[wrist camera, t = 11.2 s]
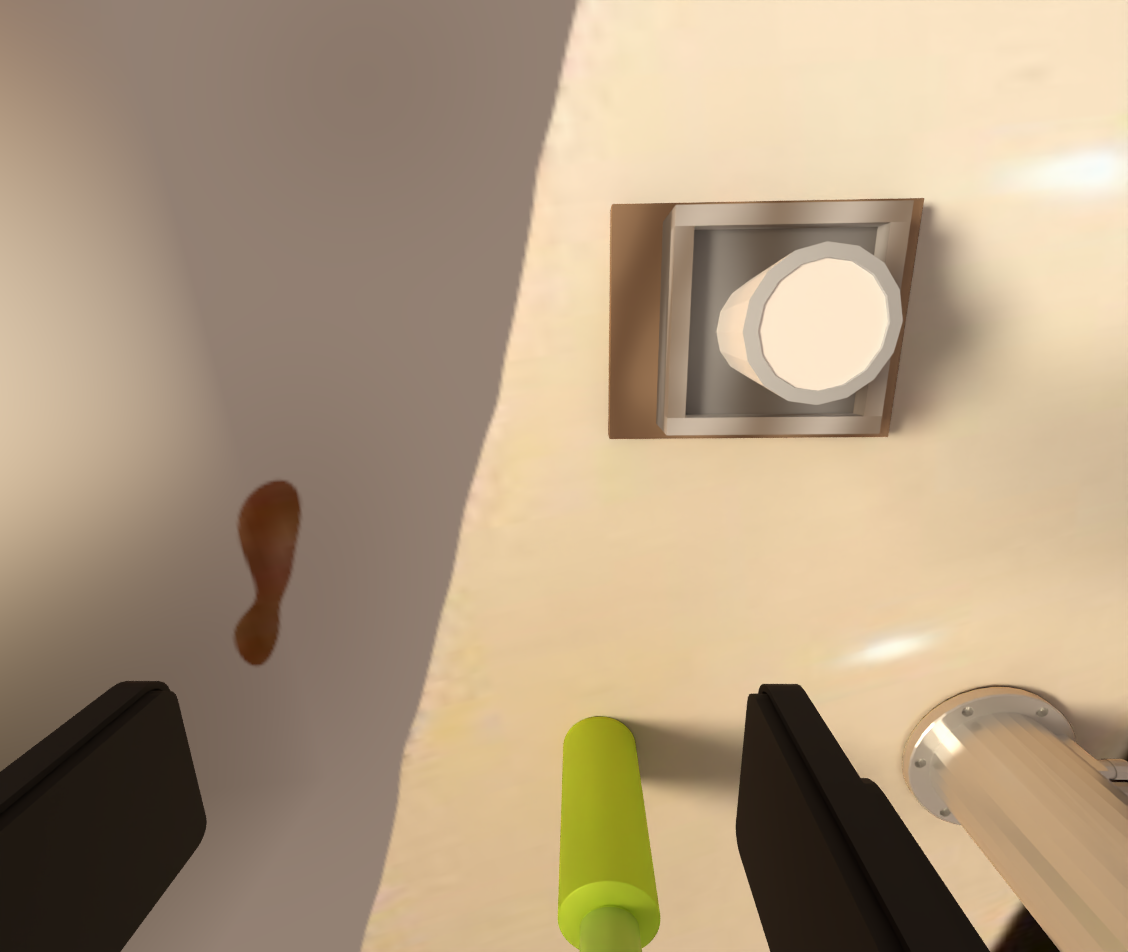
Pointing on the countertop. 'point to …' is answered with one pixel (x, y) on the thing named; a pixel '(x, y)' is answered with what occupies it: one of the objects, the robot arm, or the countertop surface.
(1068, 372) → the countertop surface
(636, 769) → the soap dispenser
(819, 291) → the white cup
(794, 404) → the stand
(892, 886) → the robot arm
